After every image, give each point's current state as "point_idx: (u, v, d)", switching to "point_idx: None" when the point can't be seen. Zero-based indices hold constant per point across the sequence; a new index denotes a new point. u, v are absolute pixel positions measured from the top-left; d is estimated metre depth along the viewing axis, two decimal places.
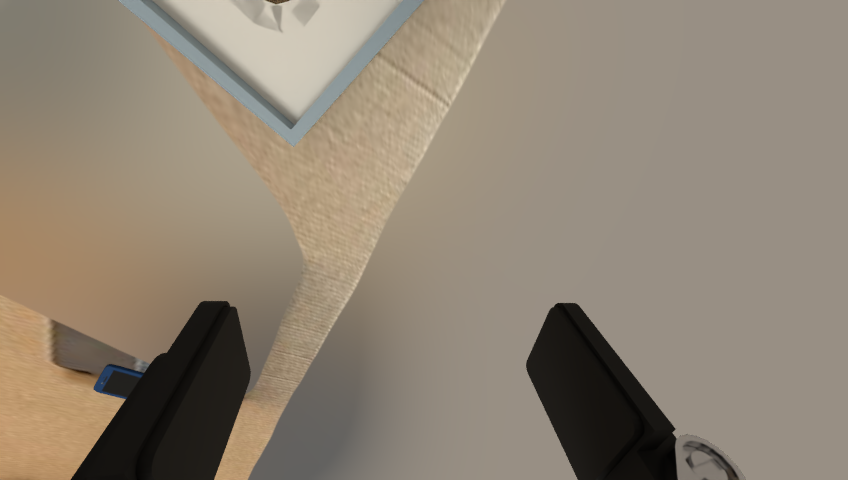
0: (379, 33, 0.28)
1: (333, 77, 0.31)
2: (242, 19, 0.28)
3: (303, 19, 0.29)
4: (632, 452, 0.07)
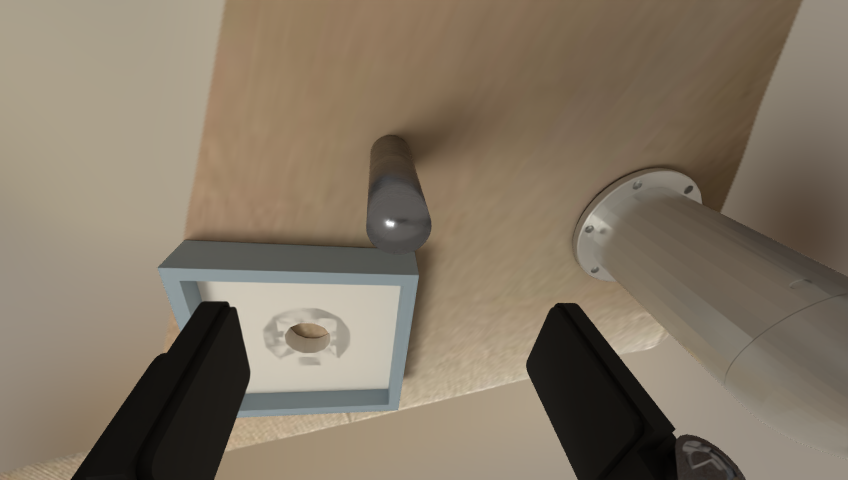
0: (341, 408, 0.36)
1: (289, 391, 0.36)
2: (260, 341, 0.32)
3: (302, 363, 0.34)
4: (632, 452, 0.07)
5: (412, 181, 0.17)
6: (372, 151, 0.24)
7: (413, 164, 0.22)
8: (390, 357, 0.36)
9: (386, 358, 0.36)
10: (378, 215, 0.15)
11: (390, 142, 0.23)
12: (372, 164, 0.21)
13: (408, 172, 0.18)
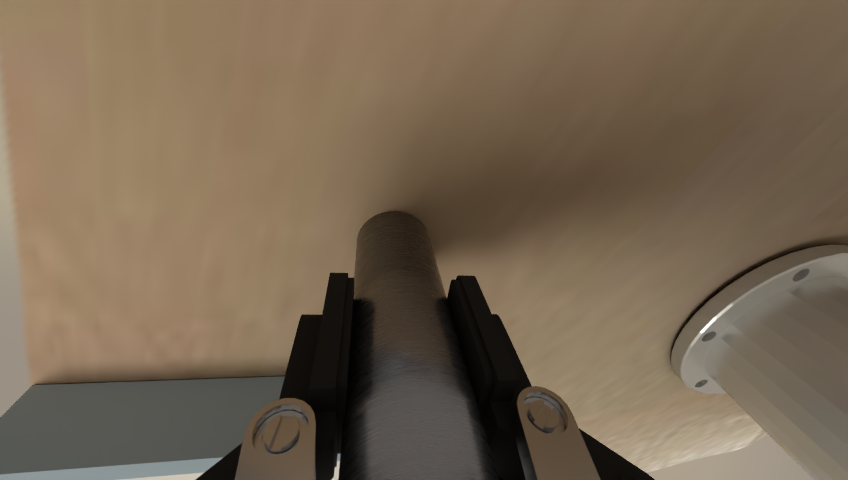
0: None
1: None
2: None
3: None
4: (489, 404, 0.07)
5: (468, 448, 0.06)
6: (359, 250, 0.12)
7: (445, 299, 0.10)
8: None
9: None
10: None
11: (394, 238, 0.12)
12: (356, 308, 0.09)
13: (449, 385, 0.07)
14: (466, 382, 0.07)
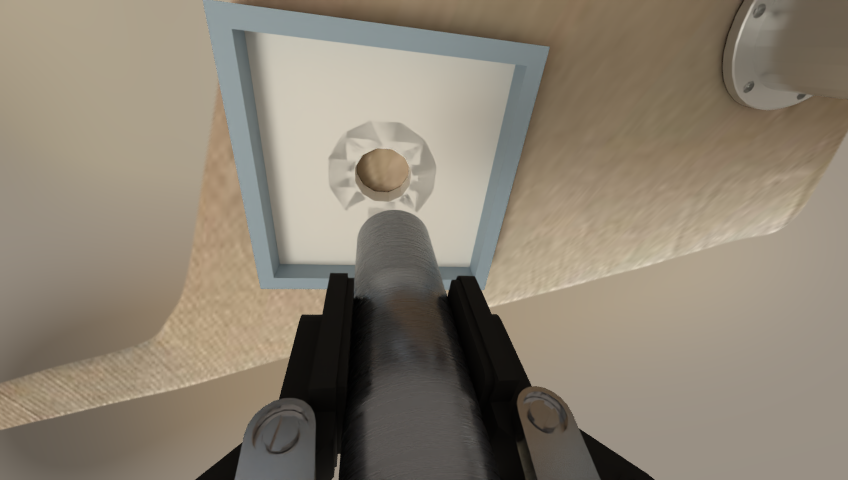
0: None
1: (352, 263, 0.29)
2: (323, 176, 0.25)
3: None
4: (489, 404, 0.07)
5: (469, 446, 0.06)
6: (359, 248, 0.12)
7: (446, 297, 0.10)
8: (479, 215, 0.28)
9: (474, 217, 0.28)
10: None
11: (395, 236, 0.12)
12: (356, 306, 0.09)
13: (450, 383, 0.07)
14: (467, 380, 0.07)
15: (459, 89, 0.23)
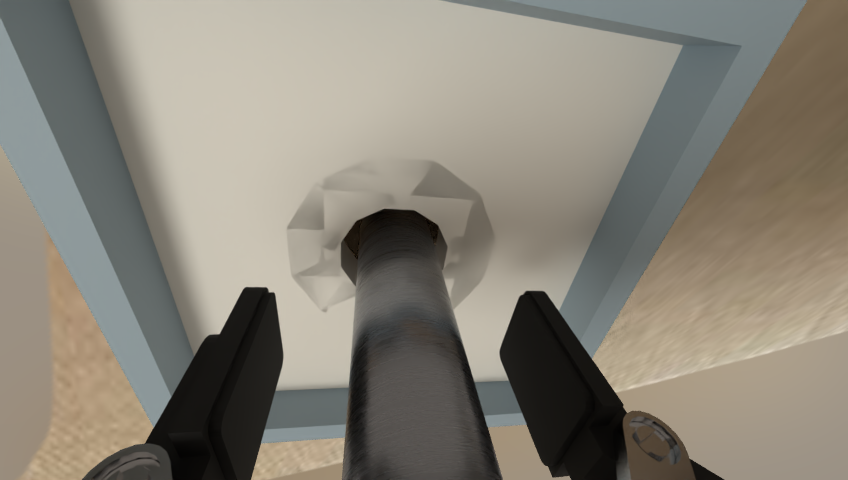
0: None
1: (335, 386, 0.17)
2: (278, 260, 0.13)
3: None
4: (585, 428, 0.07)
5: (460, 397, 0.07)
6: (362, 235, 0.13)
7: (442, 278, 0.11)
8: None
9: None
10: None
11: (395, 223, 0.12)
12: (360, 285, 0.10)
13: (444, 347, 0.08)
14: (460, 347, 0.08)
15: (560, 96, 0.11)
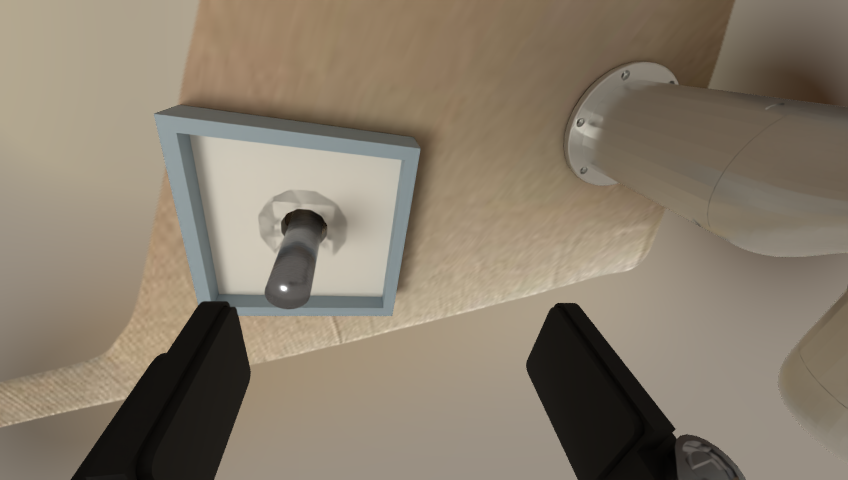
0: (335, 309, 0.36)
1: None
2: (254, 228, 0.31)
3: None
4: (632, 452, 0.07)
5: (303, 257, 0.26)
6: None
7: (316, 234, 0.30)
8: (386, 257, 0.36)
9: (382, 259, 0.36)
10: (272, 286, 0.23)
11: (303, 214, 0.31)
12: None
13: (303, 248, 0.27)
14: (311, 250, 0.27)
15: (360, 169, 0.30)
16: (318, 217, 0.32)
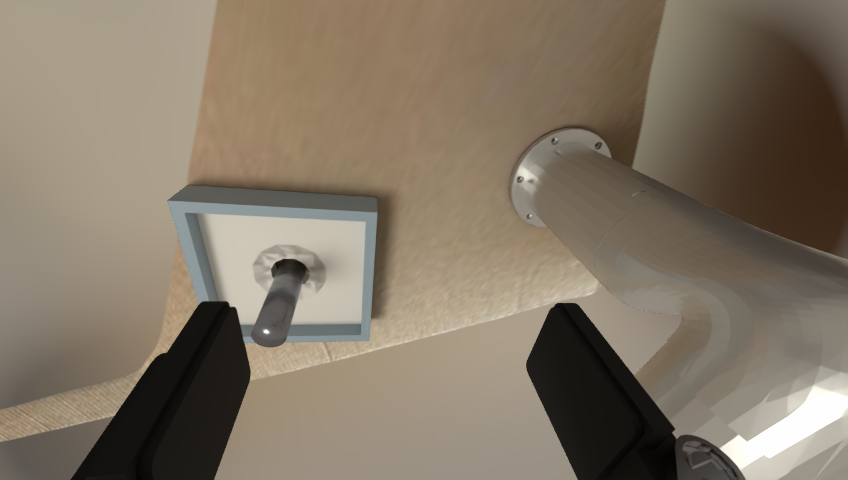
0: (320, 337, 0.43)
1: None
2: (250, 274, 0.39)
3: None
4: (632, 452, 0.07)
5: (282, 305, 0.32)
6: (279, 266, 0.39)
7: (298, 280, 0.37)
8: (361, 293, 0.42)
9: (358, 294, 0.42)
10: (256, 331, 0.30)
11: (288, 263, 0.38)
12: (272, 282, 0.36)
13: (284, 296, 0.33)
14: (291, 297, 0.34)
15: (332, 227, 0.37)
16: (301, 263, 0.39)
